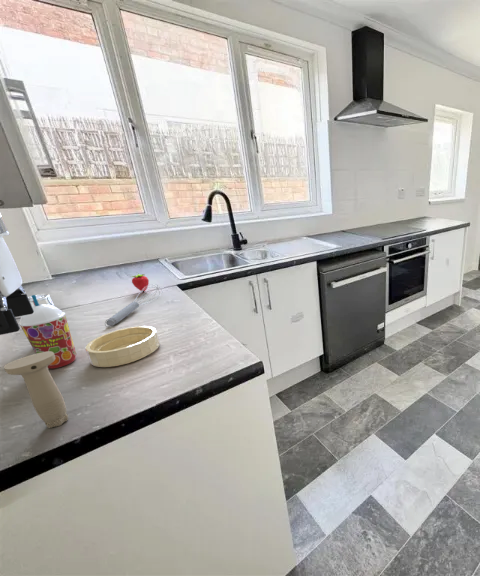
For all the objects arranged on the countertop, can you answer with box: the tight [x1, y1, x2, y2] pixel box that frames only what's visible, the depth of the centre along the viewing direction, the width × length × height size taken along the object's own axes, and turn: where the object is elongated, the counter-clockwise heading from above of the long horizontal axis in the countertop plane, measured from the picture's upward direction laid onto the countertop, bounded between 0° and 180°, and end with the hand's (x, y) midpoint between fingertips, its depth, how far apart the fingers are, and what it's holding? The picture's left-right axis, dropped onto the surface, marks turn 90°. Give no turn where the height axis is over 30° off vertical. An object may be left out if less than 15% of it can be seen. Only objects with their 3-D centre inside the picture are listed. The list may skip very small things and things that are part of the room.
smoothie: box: [18, 294, 77, 370], centre depth 82 cm, size 8×8×20 cm
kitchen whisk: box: [104, 283, 163, 328], centre depth 119 cm, size 6×34×6 cm, turn 9°
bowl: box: [84, 325, 161, 368], centre depth 88 cm, size 16×16×5 cm
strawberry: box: [130, 272, 150, 292], centre depth 139 cm, size 6×8×10 cm
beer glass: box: [27, 293, 55, 306], centre depth 94 cm, size 7×7×15 cm
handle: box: [3, 351, 69, 429], centre depth 61 cm, size 5×6×15 cm
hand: (14, 323), depth 56 cm, fingers open, 9 cm apart
